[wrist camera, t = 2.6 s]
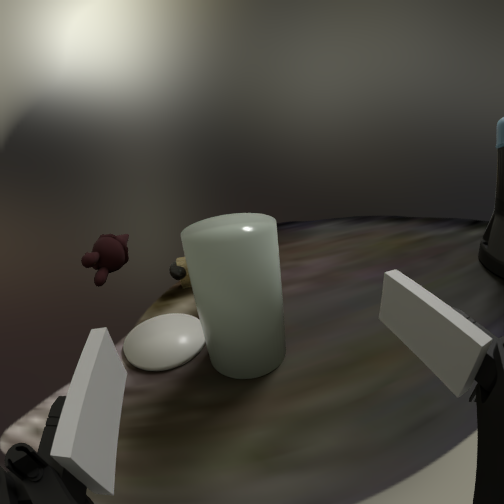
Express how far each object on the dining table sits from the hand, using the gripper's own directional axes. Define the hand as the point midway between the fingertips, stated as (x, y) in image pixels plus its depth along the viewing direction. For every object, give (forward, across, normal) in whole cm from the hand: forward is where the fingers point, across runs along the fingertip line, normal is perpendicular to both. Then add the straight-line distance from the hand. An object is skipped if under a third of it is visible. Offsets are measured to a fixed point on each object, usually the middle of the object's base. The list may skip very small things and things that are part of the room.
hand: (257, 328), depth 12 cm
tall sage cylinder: (+10, 0, -10) cm, 15 cm away
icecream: (+38, -18, -10) cm, 43 cm away
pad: (+14, -8, -10) cm, 19 cm away
